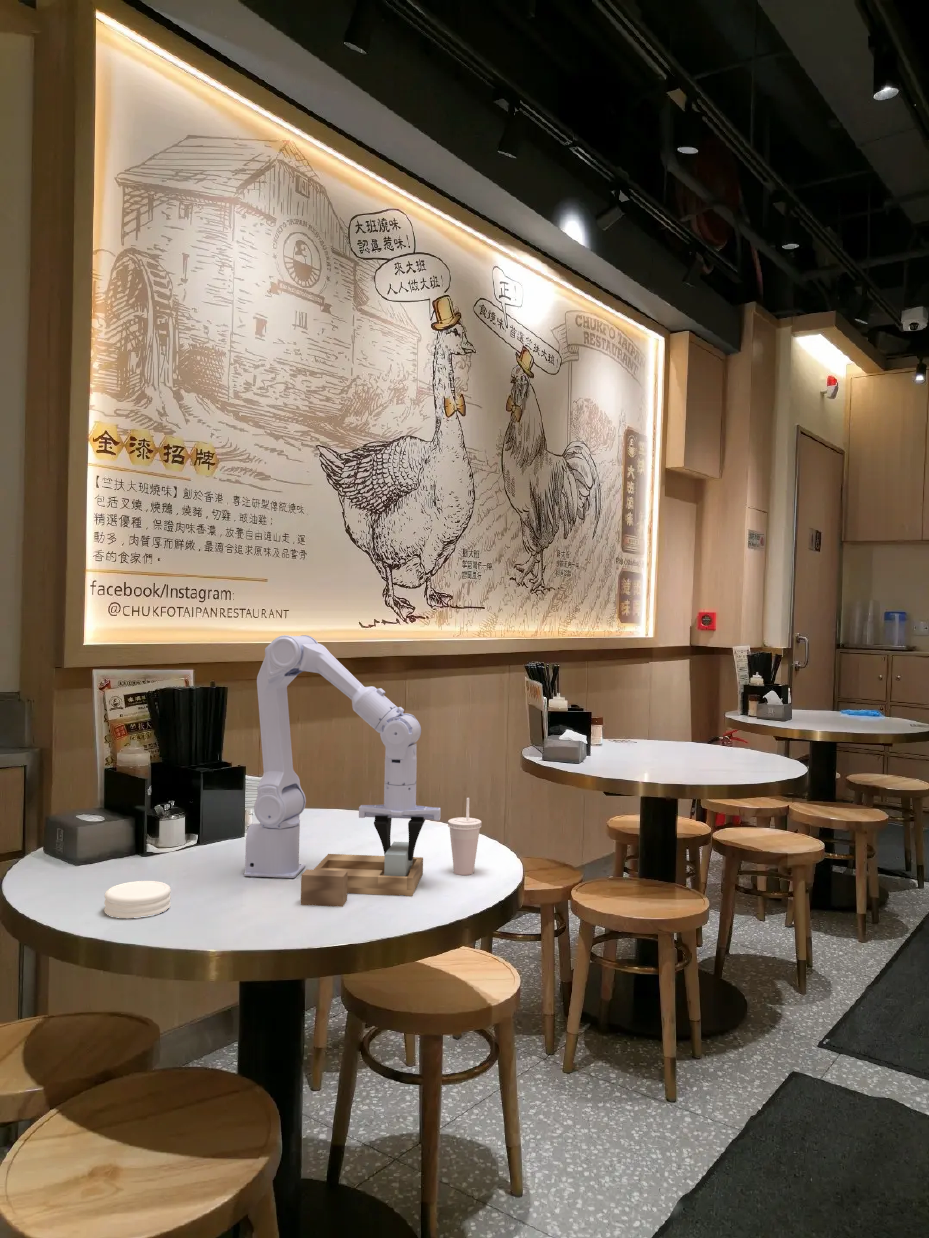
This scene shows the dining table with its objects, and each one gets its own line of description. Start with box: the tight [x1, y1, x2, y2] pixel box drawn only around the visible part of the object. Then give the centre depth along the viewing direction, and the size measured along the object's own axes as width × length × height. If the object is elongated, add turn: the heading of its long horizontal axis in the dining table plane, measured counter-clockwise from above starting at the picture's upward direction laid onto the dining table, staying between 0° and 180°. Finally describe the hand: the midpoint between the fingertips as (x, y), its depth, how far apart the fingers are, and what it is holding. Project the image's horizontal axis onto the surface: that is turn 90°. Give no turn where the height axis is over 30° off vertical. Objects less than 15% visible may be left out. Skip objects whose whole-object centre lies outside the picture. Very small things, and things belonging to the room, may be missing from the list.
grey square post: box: [384, 841, 413, 876], centre depth 159 cm, size 4×10×4 cm, turn 176°
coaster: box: [103, 880, 172, 918], centre depth 142 cm, size 10×10×4 cm
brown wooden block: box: [300, 868, 348, 908], centre depth 147 cm, size 7×3×5 cm, turn 85°
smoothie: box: [447, 797, 482, 876], centre depth 167 cm, size 6×6×14 cm
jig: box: [313, 853, 424, 897], centre depth 159 cm, size 18×14×3 cm
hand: (398, 858), depth 158 cm, fingers closed on grey square post, 3 cm apart
